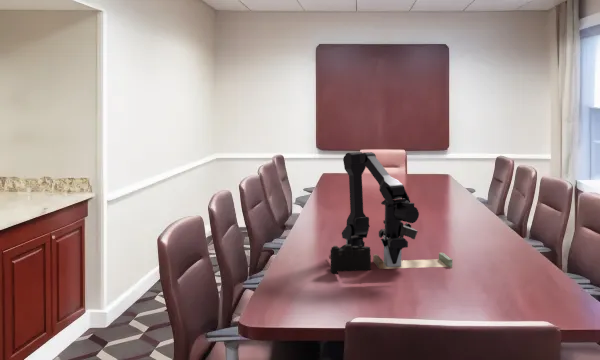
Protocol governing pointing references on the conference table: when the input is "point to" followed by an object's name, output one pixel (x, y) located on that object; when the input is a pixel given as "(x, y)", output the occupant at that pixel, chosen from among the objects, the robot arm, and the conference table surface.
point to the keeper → (388, 259)
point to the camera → (350, 258)
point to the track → (417, 262)
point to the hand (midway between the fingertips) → (392, 261)
